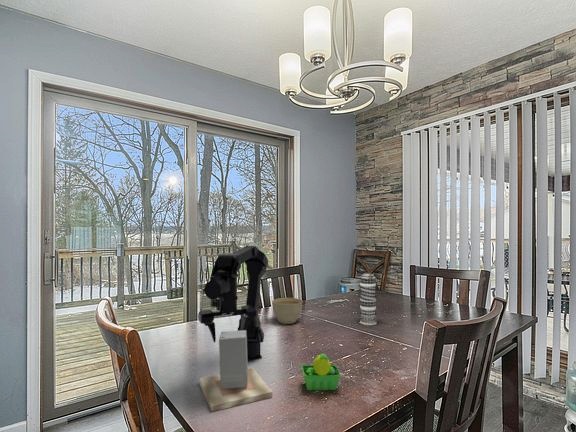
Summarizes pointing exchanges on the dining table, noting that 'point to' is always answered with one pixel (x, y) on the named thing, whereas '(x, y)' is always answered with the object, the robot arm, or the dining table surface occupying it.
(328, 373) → the fruit basket
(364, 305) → the decorative candle
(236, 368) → the skincare box
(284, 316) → the planter bowl
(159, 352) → the dining table surface
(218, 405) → the birch base
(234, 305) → the robot arm
